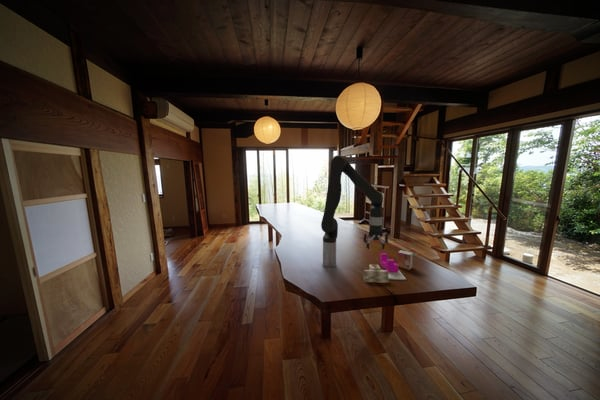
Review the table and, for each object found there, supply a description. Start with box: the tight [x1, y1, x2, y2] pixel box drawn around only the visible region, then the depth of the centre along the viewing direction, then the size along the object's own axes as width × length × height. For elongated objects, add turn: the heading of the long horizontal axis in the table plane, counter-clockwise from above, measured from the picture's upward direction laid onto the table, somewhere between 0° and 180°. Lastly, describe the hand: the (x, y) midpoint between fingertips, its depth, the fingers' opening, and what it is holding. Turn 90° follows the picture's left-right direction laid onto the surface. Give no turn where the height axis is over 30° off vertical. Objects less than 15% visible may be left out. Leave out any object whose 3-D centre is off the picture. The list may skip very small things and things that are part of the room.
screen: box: [363, 269, 390, 284], centre depth 123 cm, size 14×3×6 cm, turn 83°
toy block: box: [379, 252, 399, 272], centre depth 139 cm, size 15×6×8 cm, turn 176°
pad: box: [380, 269, 407, 281], centre depth 130 cm, size 12×11×1 cm
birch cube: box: [368, 264, 381, 271], centre depth 131 cm, size 6×6×6 cm
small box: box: [396, 249, 414, 271], centre depth 141 cm, size 8×6×10 cm
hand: (375, 249), depth 129 cm, fingers open, 8 cm apart
